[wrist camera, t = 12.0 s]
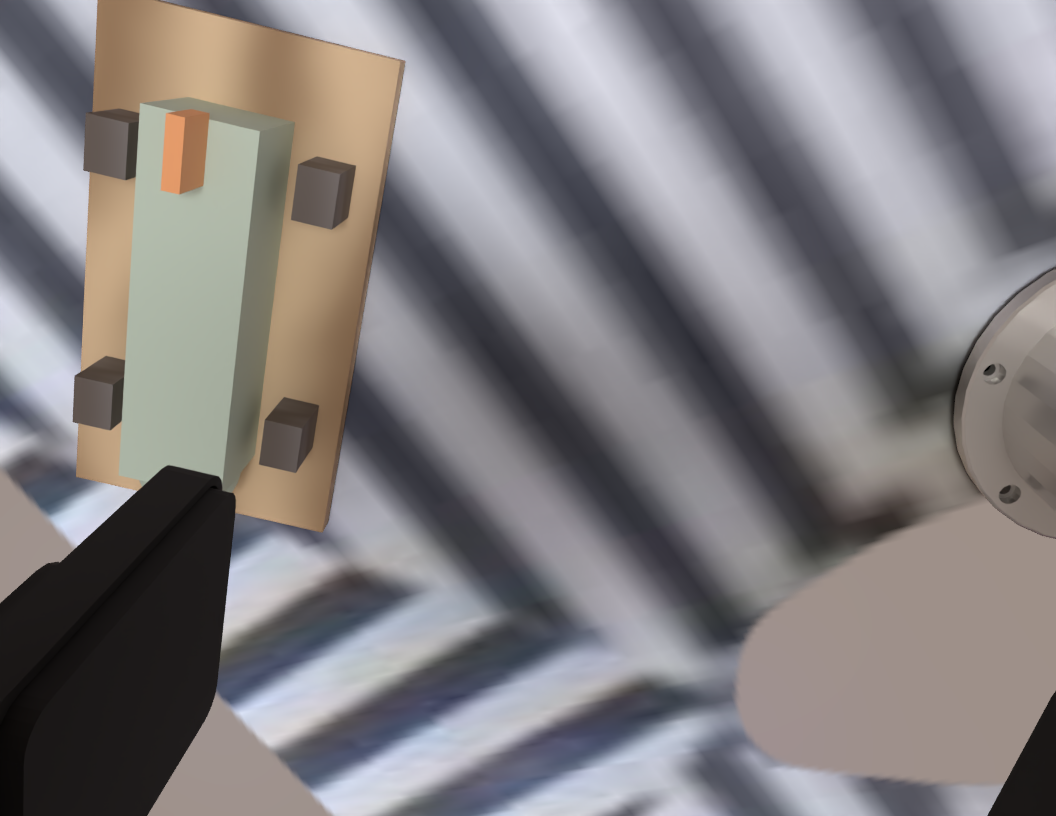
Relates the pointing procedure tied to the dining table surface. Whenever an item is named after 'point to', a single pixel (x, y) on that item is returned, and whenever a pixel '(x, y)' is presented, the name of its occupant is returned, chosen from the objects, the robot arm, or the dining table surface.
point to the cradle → (306, 240)
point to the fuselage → (201, 285)
